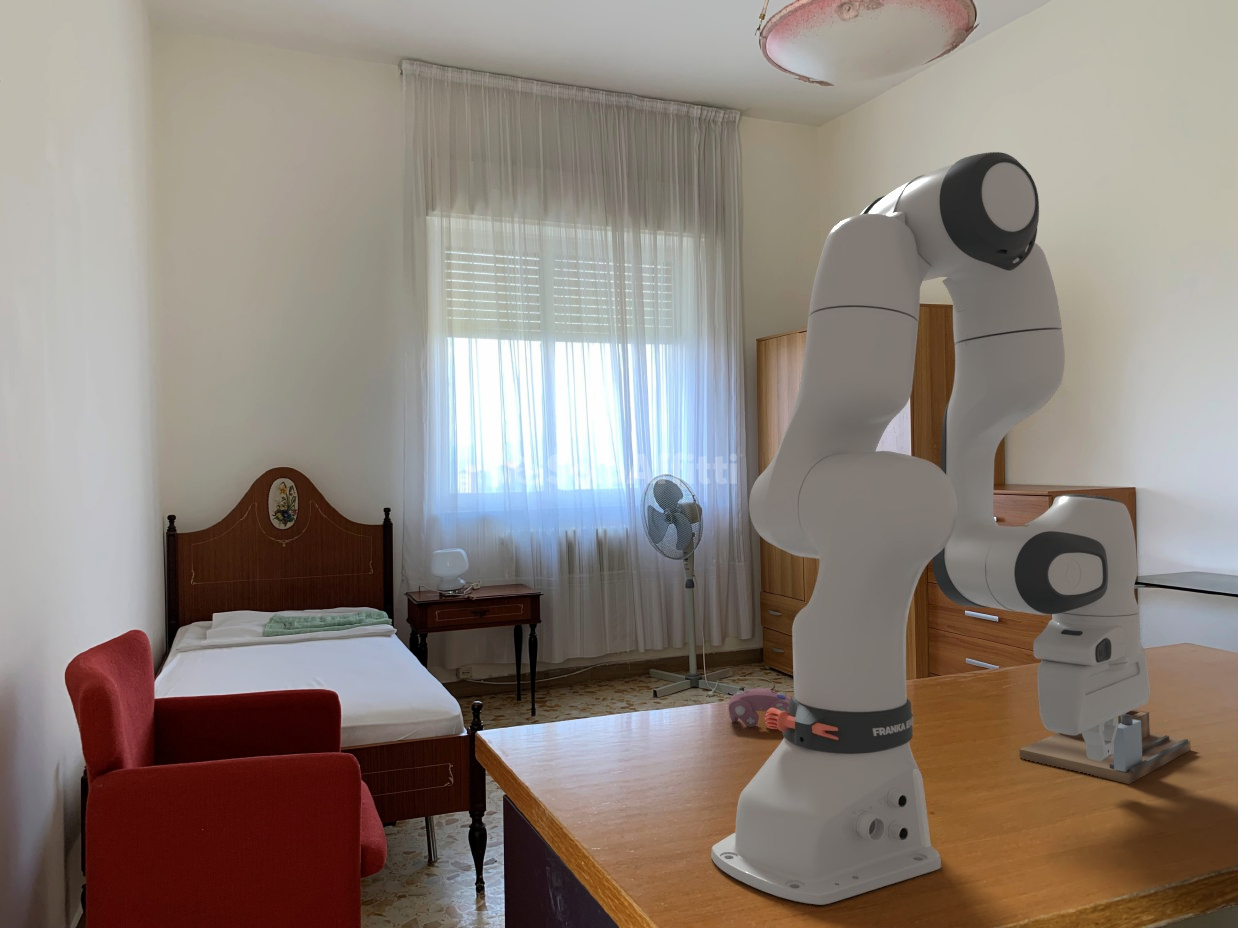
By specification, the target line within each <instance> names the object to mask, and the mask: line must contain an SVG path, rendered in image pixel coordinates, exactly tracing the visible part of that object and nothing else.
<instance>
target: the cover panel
mask: <svg viewBox="0 0 1238 928" xmlns="http://www.w3.org/2000/svg"><path fill="white" fill-rule="evenodd" d="M1113 755H1114V770H1118V771H1123V772H1126V771H1128V770H1129V768H1131V767H1133V766H1135V765H1136V764H1138V763H1140V762H1142V735H1141V721H1139V720H1133V719H1132V715H1129V714H1123V715H1121V723H1120V724H1118V728H1117V732H1116V735H1115V739H1114V754H1113Z"/></svg>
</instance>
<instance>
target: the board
mask: <svg viewBox="0 0 1238 928" xmlns="http://www.w3.org/2000/svg"><path fill="white" fill-rule="evenodd" d="M1126 714H1129V715H1132V719H1133V720H1139V721H1141V735H1142V762H1140V763H1138V764H1136V765H1135V766H1133V767H1131V768H1129V770H1128V771H1126V772H1123V771H1118V770H1114V755H1112V756H1110V757H1108V758H1106V759H1104V760H1102V761H1096V760H1091V759H1089V758H1088V757H1087V751H1086V743H1085V740H1084V738H1083V736H1082V733H1080V734H1078V735H1068V734H1062V733H1057V732H1056V733H1054V734H1052V735H1050V736H1047V737H1046V738H1042V739H1041V740H1038V741H1035V742H1033V743H1031V744H1028V745H1026V746H1024V747H1020V748H1019V759H1020V758H1022V759H1021V760H1024V759H1026V760H1025V761H1028V760H1030V761H1029V762H1032V761H1034V762H1033V763H1037V762H1039V763H1038V764H1041V763H1042V764H1041V765H1045V764H1047V766H1050V765H1051V766H1050V767H1054V766H1056V767H1055V768H1058V767H1062V768H1066V769H1065V770H1067V769H1070V770H1069V771H1071V770H1075V771H1078V772H1077V773H1080V772H1083V773H1082V774H1084V773H1087V774H1086V775H1088V774H1091V775H1090V776H1092V775H1094V776H1093V777H1097V776H1098V778H1101V779H1105V778H1106V780H1110V781H1114V782H1119V783H1123V784H1128V785H1130V784H1132V783H1134V782H1135V781H1137V780H1139V779H1140V778H1142V777H1145V776H1146V775H1148V774H1150V773H1152V772H1154V771H1155V770H1158V769H1159V768H1161V767H1162V766H1164V765H1166V764H1168V763H1169V762H1172V761H1173V760H1175V759H1177V758H1179V757H1180V756H1182V755H1185V754H1186V753H1187V752H1189V751H1191V750H1192V749H1191V748H1192V747H1191V740H1189V739H1188V738H1177V737H1174V736H1170V735H1162V734H1157V733H1153V732H1151V730H1150V712H1148V711H1143V710H1139V709H1134V710H1132V711H1129V712H1127V713H1126ZM1120 723H1121V721H1118V724H1120ZM1027 759H1028V760H1027ZM1062 768H1061V769H1062ZM1075 771H1074V772H1075Z"/></svg>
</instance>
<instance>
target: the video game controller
mask: <svg viewBox="0 0 1238 928" xmlns="http://www.w3.org/2000/svg"><path fill="white" fill-rule="evenodd" d="M790 699H791V697H790V696H789V695H787V694H786V693H785V691H778V692H776V691H773V690H771V689H767V688H752V689H750V690H747V691H744V690H742V689H740V690H738V691H736V693H735V694H733V695H732V696H731V697H730V700H729V702H728V712H729V717H730V720H731V722H733V723H735V722H736V723H737V722H738V721H739V720H741V721H742V723H743V724H744V725H745V726H746V727H748V728H749V727H750V728H754V727H756V726H758V723H759V720H760V719H759V717H760V715H759V714H758V711H759V712H766V713H765V714H767V713H768V712H767V710H768V709H770V708H776V709H778V710H780V711H788V707H789V703H790ZM765 718H767V717H765V716H764V719H765ZM765 722H768V721H764V723H765ZM767 726H768V725H766V727H767Z"/></svg>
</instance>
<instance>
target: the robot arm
mask: <svg viewBox="0 0 1238 928" xmlns="http://www.w3.org/2000/svg"><path fill="white" fill-rule="evenodd" d="M1039 200H1040V199H1039V194H1038V189H1037V186H1036V184H1035V181H1034V178H1033V176H1032V175H1031V174H1030V172H1029V171H1028V170H1027V168H1026V167H1024V166H1023V164H1022V163H1021V162H1019V160H1017V158H1015V157H1013V156H1012V155H1010V154H1008V153H1006V152H1001V151H1000V152H999V151H997V152H996V151H994V152H993V151H992V152H982V153H979V154H978V153H977V154H973V155H969V156H966V157H963V158H961V159H959V160H957V161H956V162H954V164H951V165H947V166H944V167H942V168H938V169H936V170H934V171H931V172H929V173H927V174H922V175H919V176H917V177H915V178H913V179H911V180H909V181H907V182H905V183H904V184H902V185H900V186H898V187H896V188H895V189H894V190H892V191H891V192H889V193H888V194H886V195H883V196H880V197H878V198H876V199H875V200H874V201H872V202H871V203H870V204H869V205H867V206H866V207H865V209H863V210H862V212H861V213H860V214H856V215H853V216H850V217H847V218H845V219H843V220H841V221H840V222H839V223H837V224H836V225H834V227H833V228H832V229H831V230H830V231H829V233H828V235H827V237H826V239H825V241H824V244H823V247H822V251H821V254H820V257H819V261H818V264H817V268H816V272H815V275H814V280H813V285H812V290H811V296H810V302H809V308H808V309H809V310H808V318H807V325H806V326H807V327H806V336H805V345H804V354H803V361H802V367H801V369H802V370H801V377H800V382H799V387H798V392H797V396H796V399H795V404H794V406H793V409H792V413H791V415H790V418H789V420H788V423H787V426H786V428H785V431H784V433H783V436H782V439H781V441H780V443H779V446H778V449H777V451H776V452H775V455H774V456H773V458H772V459H771V461H770V463H768V465H767V467H766V468H765V469H764V470H763V472H762V473H761V474H760V475H759V476H758V477H757V478H756V480H755V481H754V483H753V485H752V487H751V490H750V493H749V500H748V509H749V510H748V511H749V517H750V520H751V523H752V525H753V527H754V529H755V531H756V532H757V533H758V536H760V537H761V538H762V539H763V540H765V542H767V543H769V544H771V545H773V546H775V547H776V548H778V549H779V550H783V551H785V552H787V553H789V554H791V555H793V556H797V557H801V558H812V559H819V561H818V562H819V564H818V565H819V566H818V573H817V576H816V581H815V585H814V589H813V591H812V595H811V597H810V599H809V602H808V603H807V604H806V606H804V607H803V608H801V609H800V610H799V612H798V613H796V615H795V617H794V619H793V623H792V627H791V631H792V632H791V635H792V637H791V639H792V666H793V669H792V671H793V695H792V696H791V697H790V698H791V699H790V703H789V707H788V711H780V710H778V709H776V708H770V709H768V710H767V711H766V713H767V712H768V713H767V714H766V713H765V714H764V725H766V728H768V729H770V730H778V731H781V732H782V733H781V734H782V736H783V738H782V740H781V742H780V743H779V744H778V745H777V747H776V748H775V749H774V751H773V752H772V754H770V756H769V758H767V760H766V761H765V762H764V763H763V765H762V766H761V767H760V769H758V771H757V773H756V774H755V775H754V776H753V777H752V779H751V780H750V782H749V783H747V785H746V786H745V787H744V788H743V790H742V791H741V792H740V795H739V797H738V801H737V807H736V815H735V816H736V817H735V818H736V819H735V832H733V833H731V834H730V835H729V836H726V837H725V838H723V839H722V840H720V841H719V842H717V843H715V844H713V845H712V847H711V852H710V853H711V854H710V857H711V859H712V861H713V862H714V864H715V865H716V866H717V867H718V868H719V869H720V870H721V871H723V872H724V873H726V874H727V875H729V876H731V877H732V878H734V879H735V880H737V881H740V882H742V883H744V884H746V885H748V886H751V887H753V888H755V889H757V890H759V891H762V892H765V893H768V894H771V895H773V896H776V897H779V898H782V899H786V900H790V901H792V902H793V901H794V902H799V903H804V904H809V905H812V904H813V905H820V906H821V905H822V906H823V905H827V904H832V903H835V902H838V901H843V900H846V899H848V898H851V897H855V896H857V895H861V894H864V893H867V892H870V891H873V890H877V889H879V888H883V887H885V886H890V885H892V884H895V883H896V884H897V883H899V882H902V881H905V880H908V879H912V878H915V877H917V876H921V875H924V874H928V873H931V872H934V871H937V870H939V869H941V868H942V861H941V855H940V853H939V852H938V851H937V849H935V847H933V846H932V844H931V836H930V828H929V819H928V810H927V804H926V803H927V801H926V795H925V789H924V780H923V776H922V772H921V769H919V766H918V764H917V762H916V760H915V758H914V755H913V752H912V749H911V744H910V741H911V740H912V739H913V737H914V733H913V732H914V731H913V729H914V727H913V725H914V713H913V711H912V703H911V700H910V699H909V698H908V697H907V696H908V695H907V627H908V626H907V625H908V620H909V619H908V617H909V611H910V607H911V605H912V599H913V596H914V594H915V591H916V589H917V586H918V584H919V580H920V577H922V573H924V571H925V569H926V567H927V566H928V564H929V563H930V562H931V561H932V562H931V563H932V565H931V566H932V571H933V572H932V573H933V576H934V579H935V582H936V584H937V586H938V588H939V589H940V591H941V592H942V593H943V594H944V596H945V597H946V598H948V599H949V600H950V601H951V602H953V603H955V604H957V605H958V606H959V605H960V606H963V607H970V608H971V607H972V608H988V609H989V608H994V609H999V610H1005V611H1009V612H1015V613H1016V612H1018V613H1025V614H1026V613H1027V614H1033V615H1038V616H1039V615H1041V616H1046V615H1047V616H1048V615H1051V619H1050V620H1049V621H1048V624H1047V625H1046V627H1045V628H1044V629H1043V631H1042V632H1041V633H1040V634H1039V635H1037V636H1036V638H1035V639H1034V641H1033V648H1032V649H1033V656H1034V658H1035V659H1040V660H1041V662H1040V663H1039V665H1038V668H1037V695H1038V696H1037V697H1038V707H1039V715H1040V720H1041V722H1042V724H1043V726H1044V728H1045V729H1046V730H1047V731H1049V732H1054V733H1056V734H1057V733H1062V734H1068V735H1078V734H1080V733H1082V736H1083V738H1084V740H1085V743H1086V751H1087V757H1088V758H1089V759H1091V760H1096V761H1102V760H1104V759H1106V758H1108V757H1110V756H1112V755H1113V754H1114V739H1115V735H1116V732H1117V728H1118V716H1120V715H1123V714H1125V713H1127V712H1129V711H1132V710H1137V709H1138V708H1140V707H1142V706H1145V705H1147V704H1148V702H1149V698H1150V693H1151V690H1150V680H1149V669H1148V661H1147V656H1146V651H1145V649H1144V646H1143V645H1141V628H1140V625H1141V624H1140V610H1139V608H1140V607H1139V605H1138V602H1137V600H1136V595H1135V583H1136V580H1137V577H1138V559H1137V557H1138V556H1137V545H1136V538H1135V530H1134V526H1133V525H1134V524H1133V521H1132V517H1131V514H1130V512H1129V510H1128V508H1127V506H1126V505H1125V504H1124V503H1123V502H1121V501H1120V500H1118V499H1115V498H1112V497H1109V496H1102V495H1089V494H1085V493H1083V494H1082V493H1081V494H1080V493H1069V494H1068V493H1067V494H1061V495H1058V496H1056V497H1055V498H1054V500H1053V502H1052V505H1051V506H1050V507H1049V508H1048V509H1047V510H1046V511H1045V512H1044V513H1043V514H1041V515H1040V516H1038V517H1037V518H1035V519H1033V520H1031V521H1029V522H1027V523H1024V524H1023V525H1024V526H1023V525H1020V526H1019V525H1018V526H1011V525H1009V526H1007V525H1006V526H1005V525H999V524H998V523H997V521H996V519H995V516H994V487H995V486H994V485H995V457H996V453H997V449H998V447H999V445H1000V443H1001V442H1002V440H1003V439H1004V437H1005V436H1006V435H1007V434H1008V433H1009V432H1010V431H1011V430H1012V429H1013V428H1014V427H1016V426H1017V425H1018V424H1020V423H1021V422H1023V421H1024V420H1026V419H1027V418H1030V417H1031V416H1033V415H1034V414H1036V413H1037V412H1039V410H1041V409H1042V408H1044V406H1045V405H1046V404H1047V403H1048V402H1049V401H1050V400H1051V399H1053V397H1054V396H1055V394H1056V393H1057V392H1058V389H1059V388H1060V386H1061V385H1062V381H1063V379H1064V378H1063V377H1064V371H1065V357H1066V355H1065V345H1064V337H1063V330H1062V329H1063V327H1062V320H1061V318H1062V317H1061V313H1060V312H1061V311H1060V306H1059V299H1058V296H1057V291H1056V286H1055V282H1054V280H1053V275H1052V272H1051V269H1050V266H1049V264H1048V263H1049V262H1048V261H1047V260H1048V259H1047V257H1046V254H1045V252H1044V250H1043V249H1042V248H1041V246H1040V245H1039V244H1037V243H1036V239H1037V235H1038V226H1039V220H1040V219H1039V218H1040V201H1039ZM938 278H945V279H943V280H942V282H941V283H942V284H943V285H944V286H945V288H946V289H947V291H948V293H949V296H950V299H951V300H952V330H953V331H952V332H953V343H954V355H955V356H954V358H955V361H954V363H955V365H954V379H953V384H952V386H953V387H952V391H951V394H950V398H949V400H948V402H947V404H946V407H945V409H944V413H943V418H942V427H941V429H942V430H941V441H940V442H941V446H940V448H941V451H940V453H941V454H940V467H939V466H938V465H936V464H935V463H933V462H932V461H929V460H927V459H924V458H920V457H917V456H913V455H909V454H905V453H901V452H895V451H891V450H890V451H889V450H877V448H878V446H879V444H880V441H881V438H882V437H883V434H884V433H885V431H886V429H887V428H888V426H889V425H890V423H891V422H892V421H893V420H894V419H895V418H896V417H897V416H898V415H899V414H900V412H901V411H902V410H903V409H904V408H905V407H906V406H907V404H908V402H909V400H910V397H911V395H912V392H913V381H914V372H915V362H916V352H917V351H916V350H917V343H918V342H917V340H918V332H919V331H918V330H919V319H920V318H919V317H920V308H921V307H920V306H921V305H920V304H921V301H920V299H921V296H920V295H921V286H922V283H923V282H925V281H926V282H927V281H929V280H930V281H931V280H933V279H938ZM765 717H767V718H765ZM765 721H768V722H765ZM767 725H768V726H767Z"/></svg>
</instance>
